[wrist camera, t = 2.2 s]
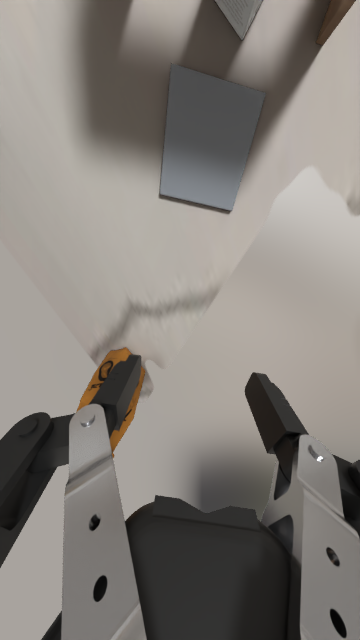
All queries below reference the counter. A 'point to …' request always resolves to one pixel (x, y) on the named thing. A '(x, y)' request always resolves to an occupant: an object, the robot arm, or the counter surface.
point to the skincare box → (239, 13)
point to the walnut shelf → (333, 18)
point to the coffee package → (98, 380)
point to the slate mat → (207, 137)
